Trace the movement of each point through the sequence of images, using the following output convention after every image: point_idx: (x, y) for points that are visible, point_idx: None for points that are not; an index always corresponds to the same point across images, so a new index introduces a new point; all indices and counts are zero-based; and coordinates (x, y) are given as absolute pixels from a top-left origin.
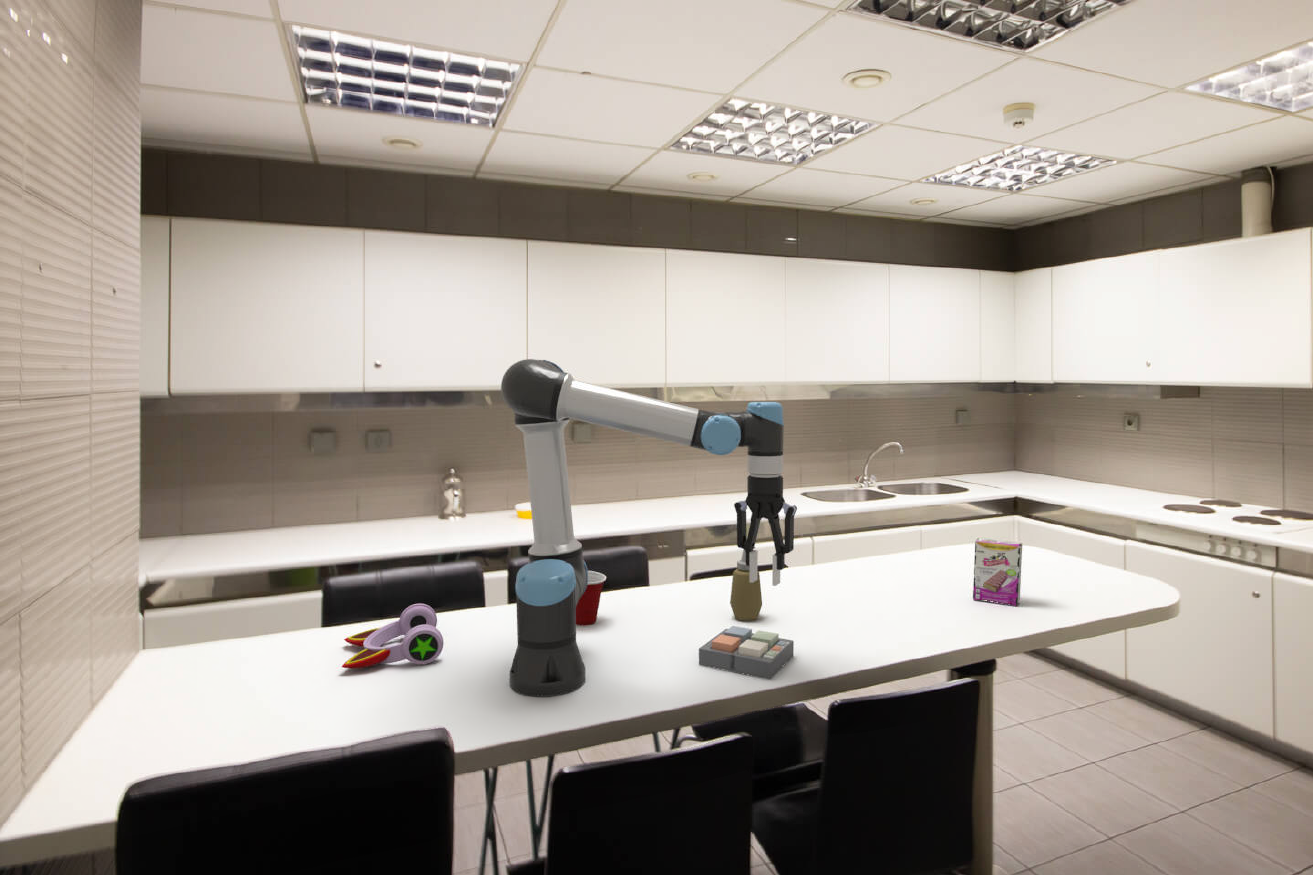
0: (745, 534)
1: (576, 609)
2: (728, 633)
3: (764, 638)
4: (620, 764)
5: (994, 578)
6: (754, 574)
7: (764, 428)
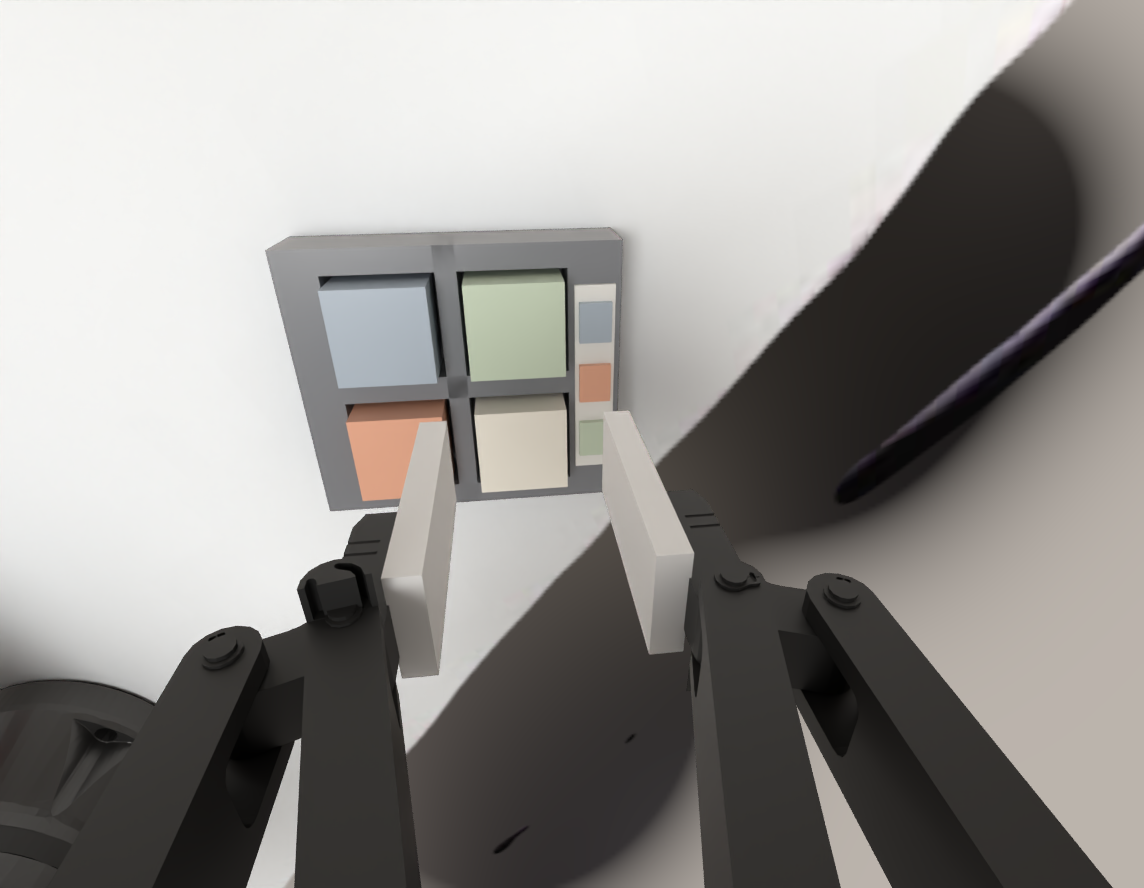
0: (220, 792)
1: None
2: (361, 386)
3: (532, 368)
4: (503, 844)
5: None
6: (449, 502)
7: None
